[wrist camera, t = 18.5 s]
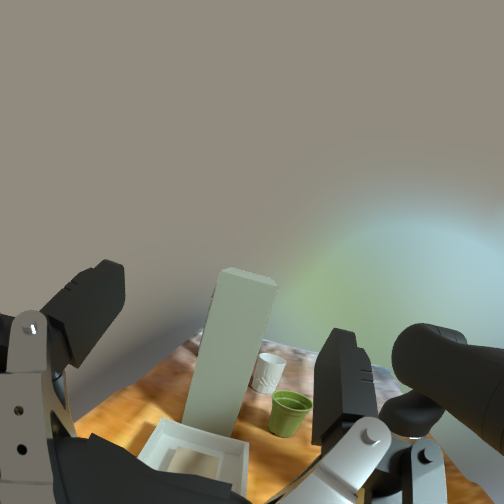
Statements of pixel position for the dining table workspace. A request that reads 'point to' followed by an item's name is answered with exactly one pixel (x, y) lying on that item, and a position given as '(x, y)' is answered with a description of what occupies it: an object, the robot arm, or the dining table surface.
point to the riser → (228, 350)
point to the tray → (176, 434)
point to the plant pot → (288, 412)
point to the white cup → (267, 373)
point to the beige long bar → (194, 463)
